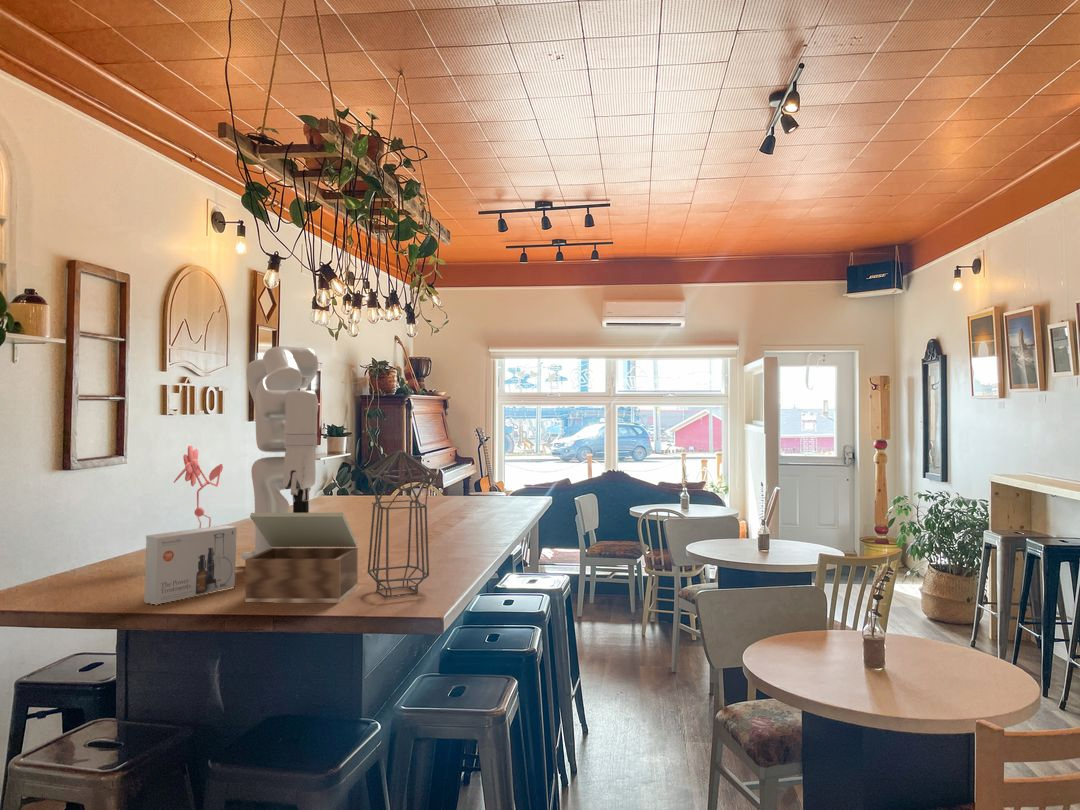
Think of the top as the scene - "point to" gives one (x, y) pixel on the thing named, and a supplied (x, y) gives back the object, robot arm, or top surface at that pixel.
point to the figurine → (193, 472)
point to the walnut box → (301, 575)
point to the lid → (305, 529)
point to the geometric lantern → (386, 462)
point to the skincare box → (189, 563)
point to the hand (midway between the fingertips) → (300, 517)
